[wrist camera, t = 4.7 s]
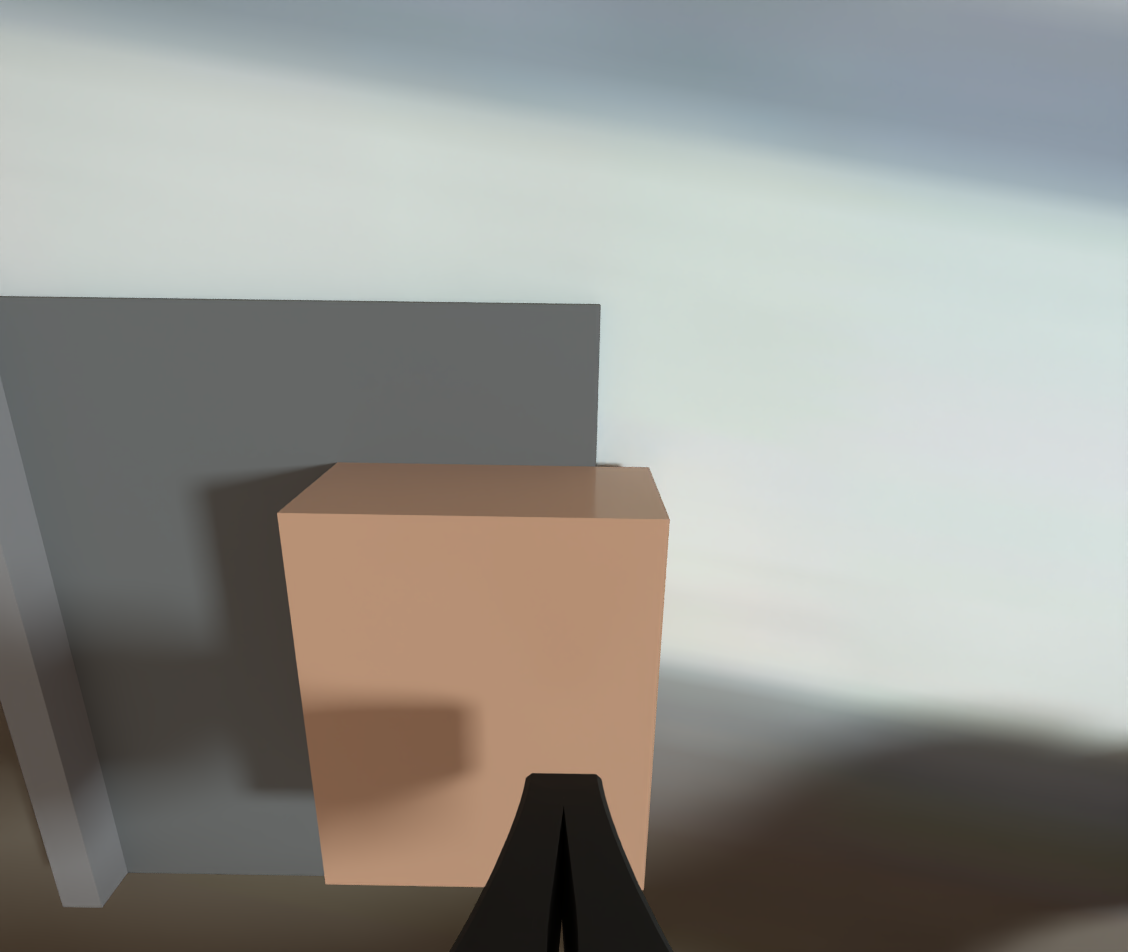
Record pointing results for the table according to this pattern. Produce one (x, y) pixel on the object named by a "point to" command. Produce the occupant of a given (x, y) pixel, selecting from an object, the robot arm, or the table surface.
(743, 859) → the table surface
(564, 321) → the mat
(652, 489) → the terracotta block
